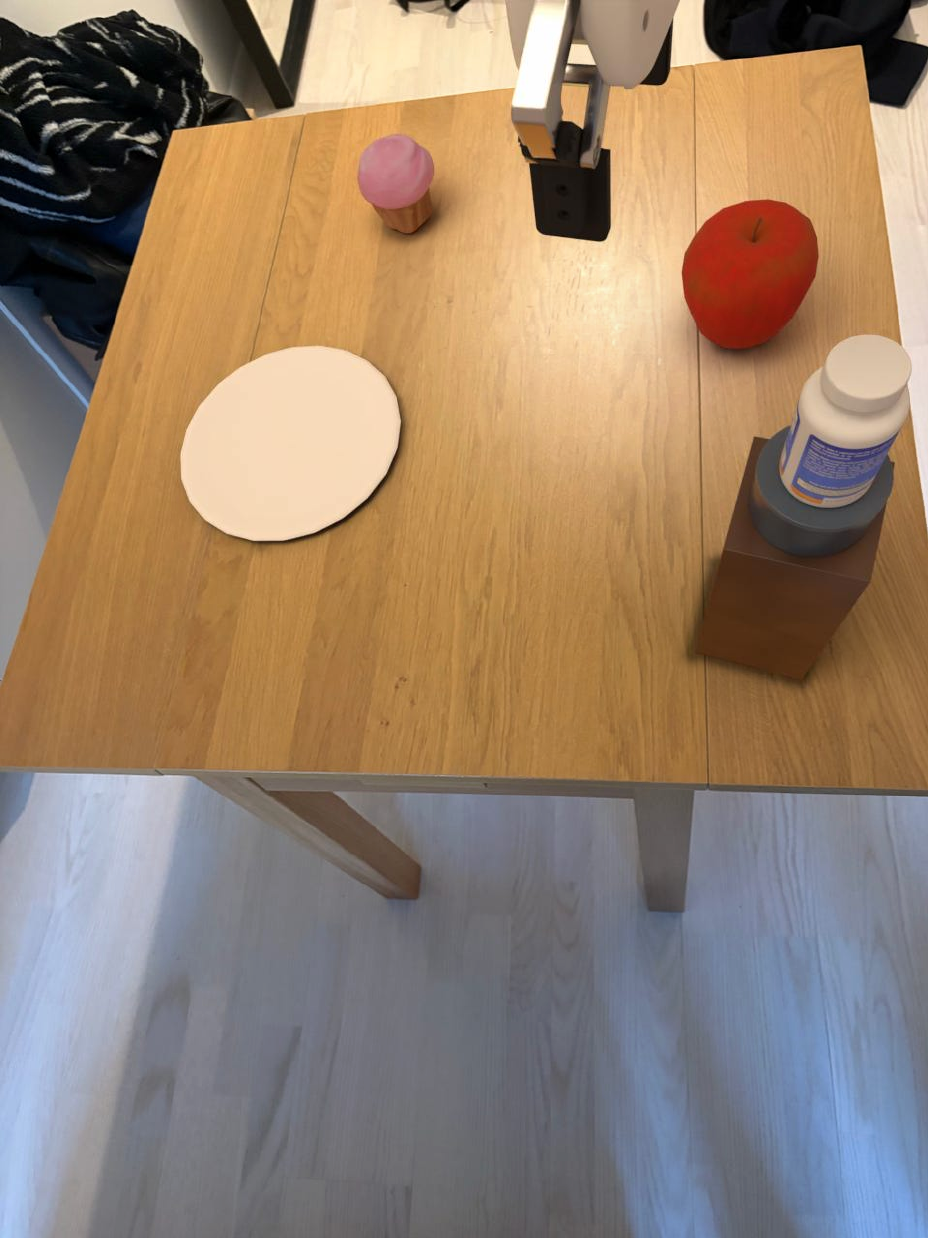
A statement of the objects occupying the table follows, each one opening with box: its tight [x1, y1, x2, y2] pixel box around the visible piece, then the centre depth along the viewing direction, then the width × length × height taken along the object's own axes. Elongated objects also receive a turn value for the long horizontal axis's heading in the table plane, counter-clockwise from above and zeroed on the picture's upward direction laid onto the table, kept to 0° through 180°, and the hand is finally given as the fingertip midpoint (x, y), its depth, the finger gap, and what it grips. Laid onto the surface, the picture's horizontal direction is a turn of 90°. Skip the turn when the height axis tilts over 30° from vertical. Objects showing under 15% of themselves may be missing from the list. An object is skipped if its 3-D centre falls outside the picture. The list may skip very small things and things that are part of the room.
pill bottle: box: [779, 333, 913, 508], centre depth 44 cm, size 5×5×10 cm
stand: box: [694, 435, 896, 681], centre depth 61 cm, size 9×9×20 cm
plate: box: [179, 345, 402, 542], centre depth 86 cm, size 25×25×1 cm
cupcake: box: [357, 133, 435, 234], centre depth 92 cm, size 9×9×10 cm
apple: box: [681, 198, 820, 349], centre depth 75 cm, size 12×12×14 cm
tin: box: [748, 424, 895, 557], centre depth 50 cm, size 8×8×4 cm
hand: (605, 153), depth 36 cm, fingers open, 9 cm apart
